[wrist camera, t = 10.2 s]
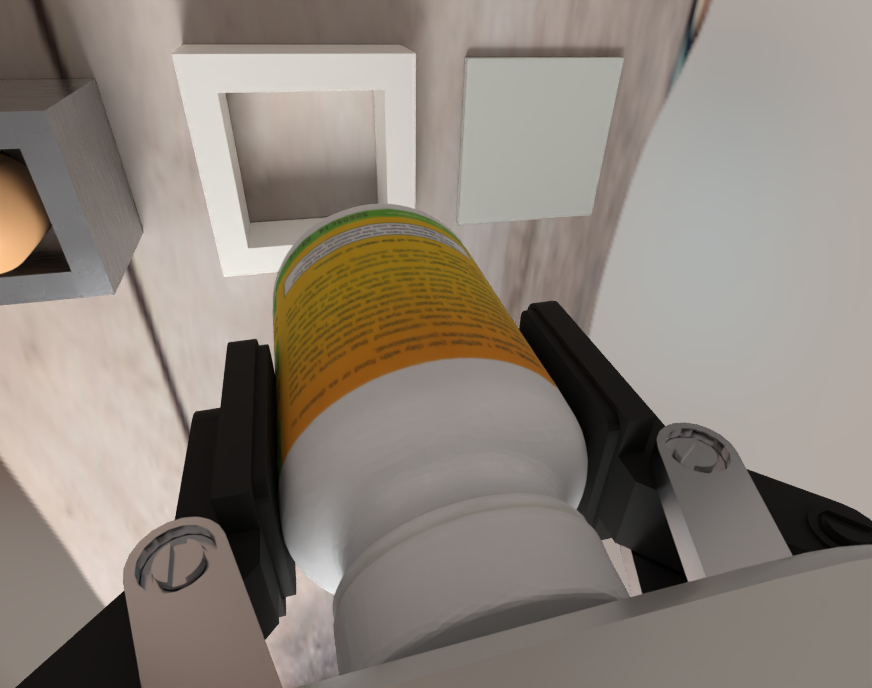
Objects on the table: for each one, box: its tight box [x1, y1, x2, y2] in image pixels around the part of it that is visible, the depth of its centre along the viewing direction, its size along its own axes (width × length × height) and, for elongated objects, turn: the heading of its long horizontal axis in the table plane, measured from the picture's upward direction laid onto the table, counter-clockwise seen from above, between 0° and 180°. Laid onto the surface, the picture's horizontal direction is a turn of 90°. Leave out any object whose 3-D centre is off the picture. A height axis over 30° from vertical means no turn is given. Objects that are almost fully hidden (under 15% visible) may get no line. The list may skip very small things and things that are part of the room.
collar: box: [171, 44, 416, 277], centre depth 24 cm, size 9×9×3 cm
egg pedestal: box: [0, 78, 143, 305], centre depth 20 cm, size 7×7×6 cm
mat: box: [456, 57, 624, 225], centre depth 27 cm, size 8×8×1 cm
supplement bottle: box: [273, 204, 630, 676], centre depth 10 cm, size 5×5×10 cm
